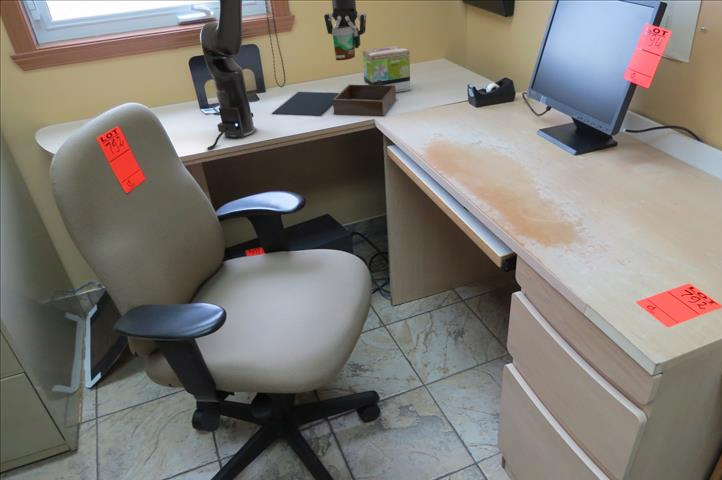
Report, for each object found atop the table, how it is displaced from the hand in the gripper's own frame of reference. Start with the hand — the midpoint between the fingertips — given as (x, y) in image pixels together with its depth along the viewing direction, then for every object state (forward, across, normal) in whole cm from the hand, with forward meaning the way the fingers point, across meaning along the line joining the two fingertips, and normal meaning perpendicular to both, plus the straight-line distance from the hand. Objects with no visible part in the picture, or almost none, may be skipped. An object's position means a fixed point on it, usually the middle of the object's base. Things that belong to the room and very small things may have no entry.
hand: (347, 47), depth 186 cm
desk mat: (+20, -17, +1) cm, 27 cm away
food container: (+3, 0, 0) cm, 3 cm away
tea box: (+20, +8, +20) cm, 29 cm away
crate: (+20, +5, 0) cm, 21 cm away
